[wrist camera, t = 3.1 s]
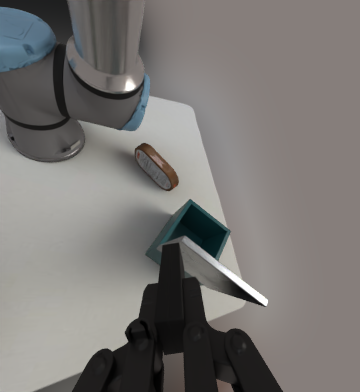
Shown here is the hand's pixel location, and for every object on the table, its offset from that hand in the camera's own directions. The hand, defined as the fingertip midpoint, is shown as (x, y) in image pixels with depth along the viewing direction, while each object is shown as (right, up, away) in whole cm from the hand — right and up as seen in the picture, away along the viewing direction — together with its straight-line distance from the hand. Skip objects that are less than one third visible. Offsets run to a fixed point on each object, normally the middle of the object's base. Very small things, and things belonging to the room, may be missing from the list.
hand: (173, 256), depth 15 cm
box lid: (+4, -4, +9) cm, 10 cm away
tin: (-8, +11, +34) cm, 37 cm away
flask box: (0, -8, +28) cm, 29 cm away
